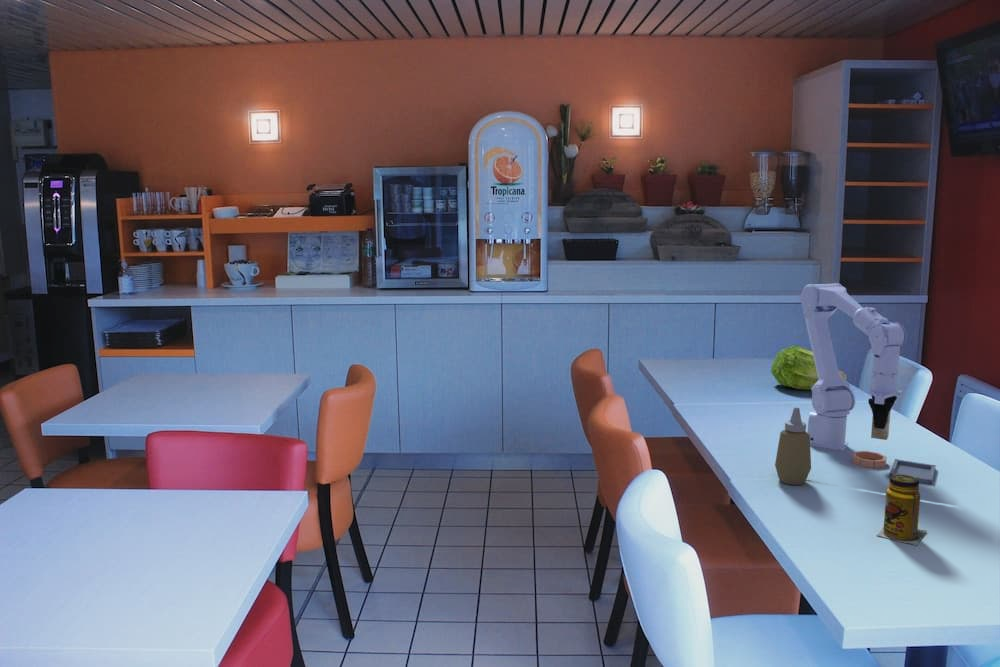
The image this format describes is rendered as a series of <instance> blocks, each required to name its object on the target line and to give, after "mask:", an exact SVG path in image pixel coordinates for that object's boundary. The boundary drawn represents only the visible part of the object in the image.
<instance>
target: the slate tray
mask: <svg viewBox="0 0 1000 667" xmlns="http://www.w3.org/2000/svg"><path fill="white" fill-rule="evenodd" d="M936 466H937V465H934V464H928V463H924V462H923V463H922V462H915V461H911V460H910V461H909V460H902V459H898V458H895V459H894V461H893V464H892V465H891V469H890V471H889V474H888V478H889V479H890V477H891V476H892V475H908V476H912V477H914V478H916V479H918V480H919V484H926V485H931V486H932V485H933V481H934V477H935V472H936Z"/></svg>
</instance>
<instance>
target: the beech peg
mask: <svg viewBox="0 0 1000 667" xmlns="http://www.w3.org/2000/svg"><path fill="white" fill-rule="evenodd" d="M890 410H891V411H892V408H891V409H890ZM891 411H890V412H889V414H888V418H887V422H886V426H885V428H884V429H880V428H875V426H874V420H873V418H871V419H872V420H871V421H872V422H871V433H870V434H871V435H870V438H871V439H876V440H884V441H887V440H888V439H889V435H890V434H889V432H890V422H891Z"/></svg>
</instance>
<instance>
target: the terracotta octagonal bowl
mask: <svg viewBox="0 0 1000 667" xmlns="http://www.w3.org/2000/svg"><path fill="white" fill-rule="evenodd" d="M851 462H852V463H854V465H857V466H860V467H864V468H871V469H878V468H879V469H880V468H881V469H882V468H886V466H887V456H886V455H883V454H882V453H879V452H874V451H869V450H861V451H860V450H859V451H854V452H853V454H852V459H851Z"/></svg>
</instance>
